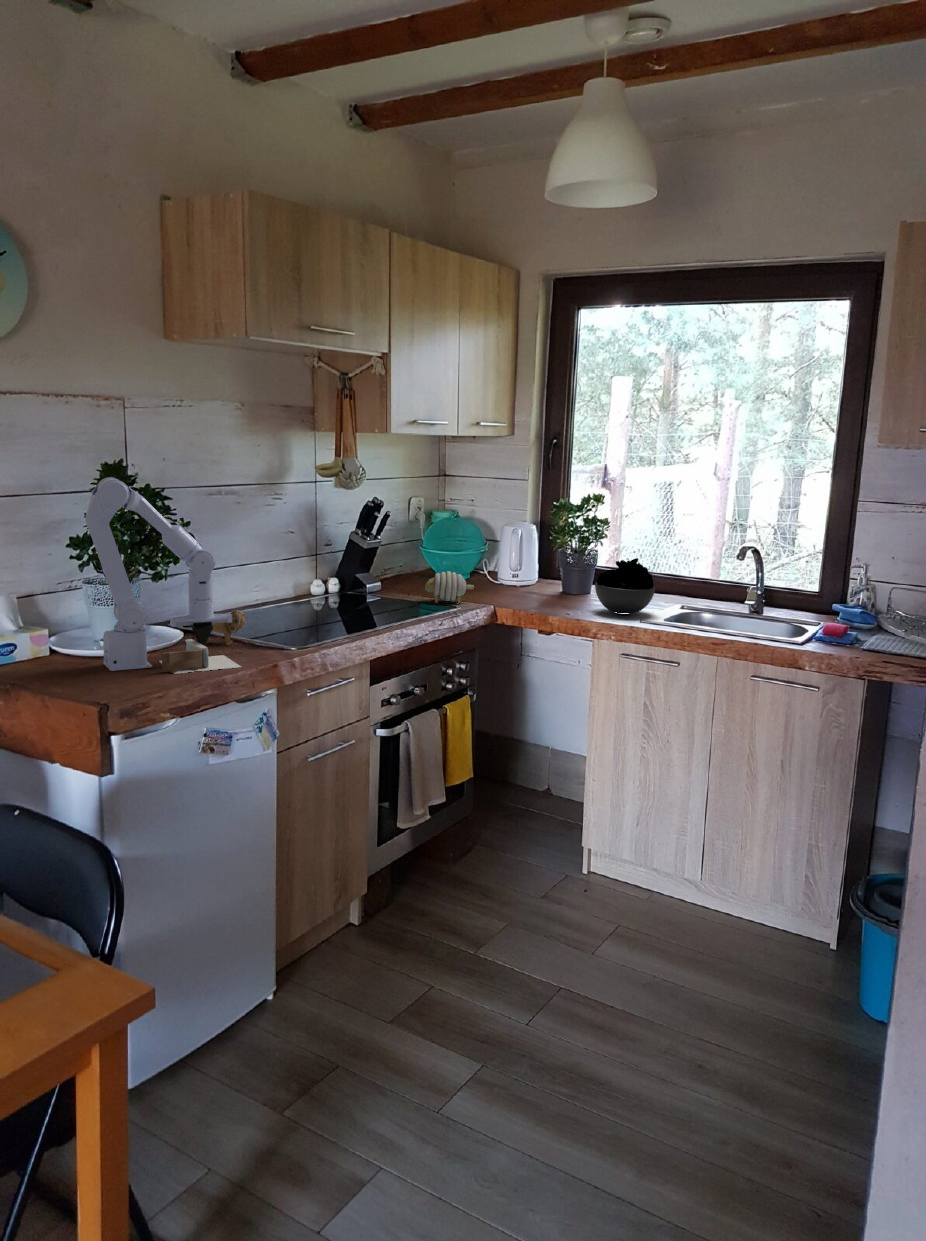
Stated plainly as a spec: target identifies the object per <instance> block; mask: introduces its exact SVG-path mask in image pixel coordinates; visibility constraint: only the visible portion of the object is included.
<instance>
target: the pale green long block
mask: <svg viewBox="0 0 926 1241" xmlns="http://www.w3.org/2000/svg"><path fill="white" fill-rule="evenodd" d="M185 643H186V644H185V645H186V646H185V651H188V650H201V651H202V666H203V667H207V666H209V665H208V657H209V649H208V647H207V645H206V646H204V645H202V644H200V643H198V641H197V640H195V639H191V638H188V639H185Z"/></svg>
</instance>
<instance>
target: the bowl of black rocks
mask: <svg viewBox="0 0 926 1241" xmlns="http://www.w3.org/2000/svg"><path fill="white" fill-rule="evenodd" d="M615 565H616V566H617V568H616V569H613V568H611V569H607V570H605V572H603V573H602V572H600V573H599V576H598V577H597V582H595V583H594V590H595V594H596V596H597V599H598V600H599V602H600V604H601V605H602V606H603V607H604V608H605V609H607V610H608V611H609V612H612V613H613V612H617V613H634V614H636V613H639V612H641V611H642V610H644V609H645V608H646V607H647V606H648V605H649V604H650V602H651V601H652V599H653V597H654V594H655V591H656V587H655V586H654V585H655V584H654V579H653V575H652V574H651V573H650V572H649V568H647V567H646V566H644V565H642V564H641V563H639V558H638V557H636V558H633V559H631V560H627V561H625V560H623V559H621V560H620V561H619V560H615Z"/></svg>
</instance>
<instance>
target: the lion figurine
mask: <svg viewBox="0 0 926 1241" xmlns="http://www.w3.org/2000/svg"><path fill="white" fill-rule="evenodd" d="M229 613H230V614H231V615H232V622H231V623H228V622H223V623H212V625H213V630H212V632H214V633H216V634H217V633H218V634H224V643H225V645H226V646H230V645H231V644H232V643H233V640H231V637H232V634H236V633H238V631H239V630H240V629H243V627H245V625H246V619H245V613H244V611H241V610H239V609H238V610H234V611H232V612H229ZM190 639H193V640H195V639H197V638H196V636H195V635H193V636H192V637H191V638H190ZM206 644H209V640H207V643H206Z"/></svg>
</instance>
